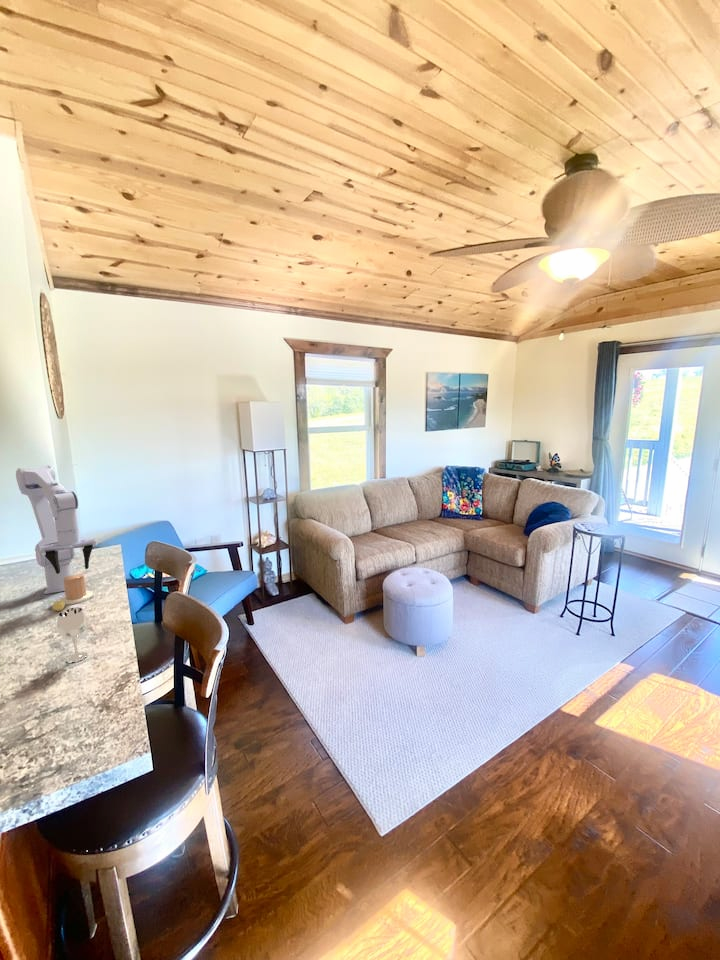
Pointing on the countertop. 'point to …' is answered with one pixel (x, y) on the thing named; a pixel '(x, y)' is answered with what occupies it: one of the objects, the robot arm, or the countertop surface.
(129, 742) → the countertop surface
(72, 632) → the wineglass
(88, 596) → the dish
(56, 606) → the ball
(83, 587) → the cup
